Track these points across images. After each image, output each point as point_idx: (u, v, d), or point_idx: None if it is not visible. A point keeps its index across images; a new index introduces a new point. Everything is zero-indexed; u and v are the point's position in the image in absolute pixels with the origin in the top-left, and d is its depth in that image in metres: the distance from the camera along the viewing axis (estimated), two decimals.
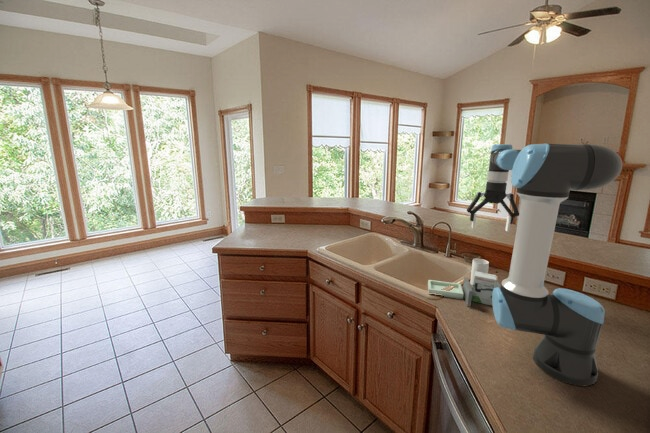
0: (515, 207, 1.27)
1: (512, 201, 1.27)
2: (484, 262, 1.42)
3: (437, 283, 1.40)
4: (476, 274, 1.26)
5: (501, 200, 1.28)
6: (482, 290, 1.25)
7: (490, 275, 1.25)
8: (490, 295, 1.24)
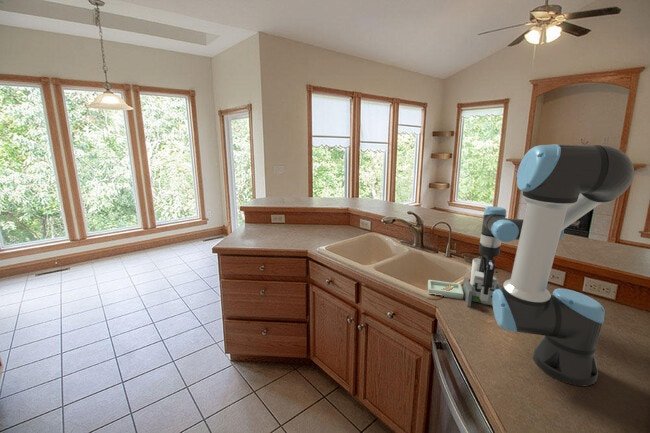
0: (485, 278, 1.20)
1: (486, 271, 1.20)
2: None
3: (437, 283, 1.40)
4: (476, 274, 1.26)
5: (483, 264, 1.23)
6: None
7: None
8: (490, 295, 1.24)
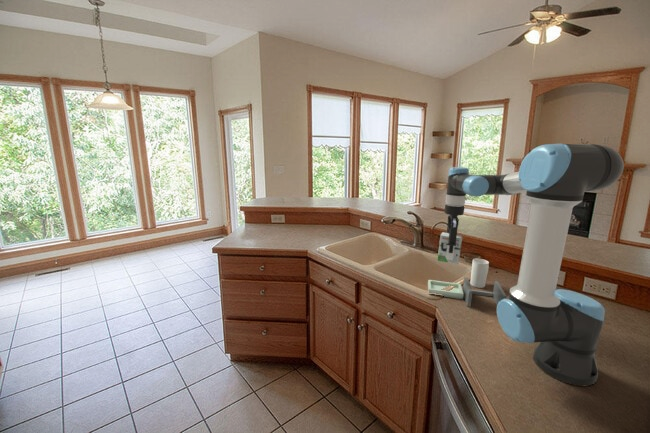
0: (450, 236, 1.24)
1: (450, 229, 1.24)
2: (484, 262, 1.42)
3: (437, 283, 1.40)
4: (442, 234, 1.30)
5: (448, 224, 1.27)
6: None
7: None
8: (455, 254, 1.28)
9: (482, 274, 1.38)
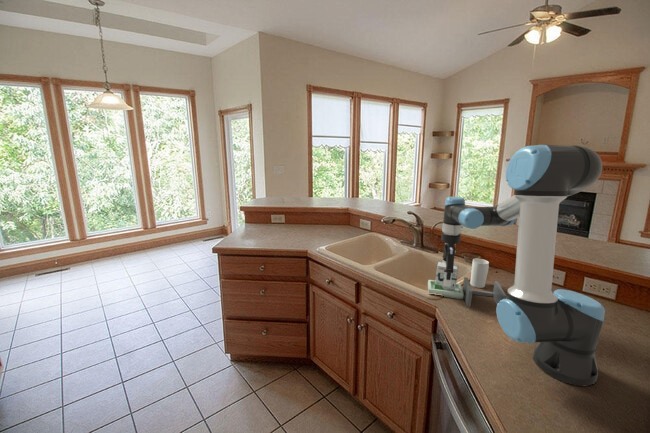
0: (447, 263, 1.25)
1: (447, 256, 1.26)
2: (484, 262, 1.42)
3: None
4: (439, 264, 1.33)
5: (445, 251, 1.29)
6: None
7: None
8: (452, 284, 1.31)
9: (482, 274, 1.38)
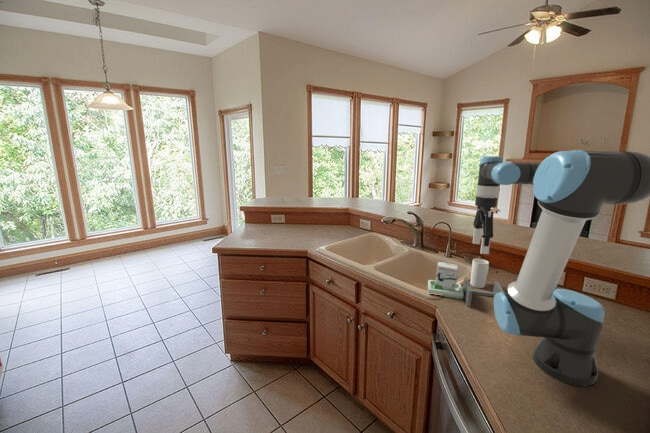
0: (485, 227, 1.13)
1: (485, 219, 1.14)
2: (484, 262, 1.42)
3: None
4: (439, 264, 1.33)
5: (481, 216, 1.18)
6: (444, 280, 1.32)
7: (452, 265, 1.33)
8: (452, 284, 1.31)
9: (482, 274, 1.38)
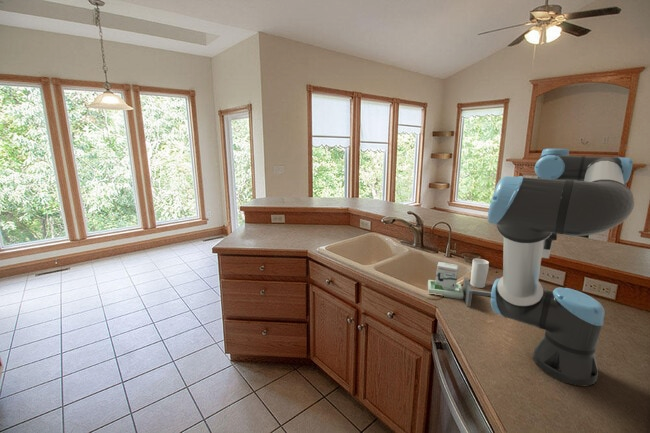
0: None
1: None
2: (484, 262, 1.42)
3: None
4: (439, 264, 1.33)
5: None
6: (444, 280, 1.32)
7: (452, 265, 1.33)
8: (452, 284, 1.31)
9: (482, 274, 1.38)
